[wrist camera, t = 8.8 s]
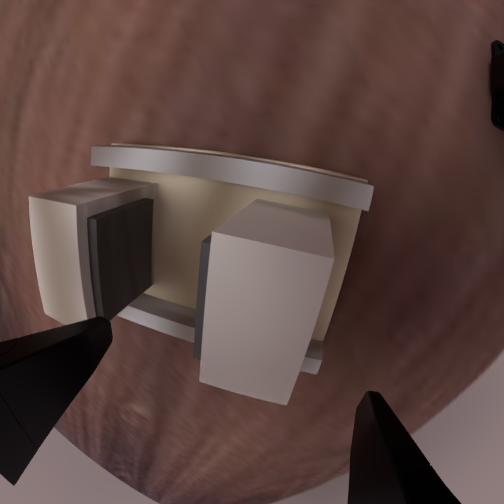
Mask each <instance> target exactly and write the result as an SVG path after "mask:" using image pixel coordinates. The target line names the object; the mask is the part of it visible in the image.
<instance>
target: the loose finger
mask: <svg viewBox="0 0 504 504" xmlns="http://www.w3.org/2000/svg"><path fill="white" fill-rule="evenodd" d="M333 263H334V249H333V240H332V231H331V223H330V215H329V214H328V213H324V212H319V211H315V210H310V209H306V208H301V207H296V206H292V205H287V204H282V203H277V202H272V201H267V200H262V199H256V200H255V201H253V202H252V203H251V204H249V205H248V206H246V207H245V208H244V209H242V210H241V211H239V212H238V213H237V214H235V215H234V216H233V217H231V218H230V219H228V220H227V221H226V222H224V223H223V224H222V225H220V226H219V227H218V228H216V229H215V230H214V231H212V234H211V235H209V236H208V237H207V238H205V239H204V240H203V241H201V251H200V263H199V275H198V287H197V301H196V316H195V334H194V354H193V357H194V358H197V359H200V360H201V364H200V380H199V382H202V383H205V384H209V385H212V386H215V387H218V388H221V389H225V390H228V391H231V392H235V393H238V394H242V395H246V396H249V397H253V398H257V399H261V400H265V401H269V402H273V403H278V404H282V405H286V406H287V403H288V401H289V398H290V396H291V393H292V390H293V388H294V385H295V382H296V380H297V377H298V374H299V371H300V368H301V366H302V363H303V360H304V357H305V354H306V351H307V348H308V345H309V342H310V339H311V336H312V333H313V330H314V327H315V324H316V321H317V318H318V314H319V311H320V308H321V305H322V301H323V298H324V295H325V291H326V288H327V284H328V281H329V277H330V274H331V270H332V267H333Z"/></svg>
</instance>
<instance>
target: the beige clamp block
mask: <svg viewBox="0 0 504 504" xmlns="http://www.w3.org/2000/svg"><path fill="white" fill-rule="evenodd" d="M91 165H93V166H105V167H110V175H109V177H107V178H102V179H97V180H92V181H88V182H83V183H79V184H74V185H70V186H66V187H62V188H57V189H54V190H50V191H46V192H42V193H38V194H35V195H31V196H29V212H30V225H31V236H32V245H33V252H34V260H35V266H36V272H37V278H38V283H39V288H40V293H41V298H42V303H43V307H44V311H45V314H47V315H49V316H50V317H52V318H54V319H56V320H57V321H59V322H61V323H63V324H65V325H68V324H72V323H76V322H79V321H83V320H87V319H90V318H94V317H98V316H102V317H104V318H107V319H109V320H110V321H111V320H112V319H113V318H115V317H116V316H117V315H118V316H120V317H123V318H125V319H128V320H130V321H133V322H136V323H138V324H141V325H144V326H146V327H149V328H152V329H154V330H157V331H160V332H163V333H166V334H169V335H172V336H174V337H177V338H180V339H183V340H187V341H190V342H193V343H194V334H195V316H196V301H197V287H198V275H199V263H200V251H201V241H203V240H204V239H205V238H207V237H208V236H209V235H211V234H212V231H214V230H215V229H216V228H218V227H219V226H220V225H222V224H223V223H224V222H226V221H227V220H228V219H230V218H231V217H233V216H234V215H235V214H237V213H238V212H239V211H241V210H242V209H244V208H245V207H246V206H248V205H249V204H251V203H252V202H253V201H255V200H256V199H262V200H267V201H272V202H277V203H282V204H287V205H292V206H296V207H301V208H306V209H310V210H315V211H319V212H324V213H328V214H329V215H330V223H331V231H332V240H333V249H334V263H333V267H332V270H331V274H330V277H329V281H328V284H327V288H326V291H325V295H324V298H323V301H322V305H321V308H320V311H319V314H318V318H317V321H316V324H315V327H314V330H313V333H312V336H311V339H310V342H309V345H308V348H307V351H306V354H305V357H304V360H303V363H302V366H301V368H300V371H302V372H307V373H312V374H317V373H318V370H319V368H320V365H321V362H322V356H323V340H324V338H325V335H326V332H327V329H328V326H329V323H330V320H331V317H332V314H333V311H334V308H335V305H336V302H337V298H338V295H339V292H340V289H341V285H342V282H343V279H344V275H345V272H346V268H347V265H348V261H349V258H350V254H351V250H352V247H353V243H354V239H355V235H356V231H357V227H358V223H359V219H360V215H361V211H362V210H365V211H369V208H370V204H371V199H372V195H373V190H374V186H372V185H371V184H369V183H368V180H366V179H364V178H360V177H355V176H351V175H347V174H343V173H338V172H334V171H330V170H325V169H320V168H316V167H311V166H306V165H301V164H295V163H290V162H285V161H279V160H273V159H267V158H261V157H255V156H248V155H242V154H235V153H227V152H220V151H212V150H203V149H194V148H184V147H173V146H161V145H146V144H128V143H115V144H112V145H104V146H92V151H91Z"/></svg>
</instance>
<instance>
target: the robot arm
mask: <svg viewBox="0 0 504 504" xmlns="http://www.w3.org/2000/svg"><path fill="white" fill-rule="evenodd" d="M497 46H498V47H499V48H500V49H499V48H498V47H497ZM491 60H492V92H493V101H492V121H493V123H494V125H495V126H497V127H499V128H500V129H502V130H504V44H503V43H502V42H500V41H498V40H495V41H494V42H492V59H491ZM497 117H499V118H500V122H499V121H498V118H497ZM112 339H113V336H112V329H111V322H110V320H109V319H107V318H104V317H102V316H98V317H94V318H90V319H87V320H83V321H79V322H76V323H72V324H68V325H65V326H61V327H57V328H53V329H50V330H46V331H42V332H38V333H35V334H31V335H27V336H23V337H20V338H15V339H11V340H7V341H3V342H0V474H1V475H2V476H3V477H4V478H5V479H7V480H8V481H9V482H10V483H11V484H12V485H13V486H14V485H15V484H16V483H17V481H18V480H19V478H20V476H21V475H22V473H23V472H24V470H25V468H26V467H27V466H28V464H29V463H30V461H31V459H32V458H33V456H34V455H35V454H36V452H37V451H38V449H39V447H40V446H41V444H42V443H43V441H44V440H45V439H46V437H47V436H48V434H49V433H50V431H51V430H52V429H53V427H54V426H55V424H56V423H57V422H58V420H59V419H60V417H61V416H62V415H63V413H64V412H65V410H66V409H67V408H68V406H69V405H70V403H71V402H72V401H73V399H74V398H75V397H76V395H77V394H78V393H79V391H80V390H81V389H82V387H83V386H84V385H85V383H86V382H87V381H88V379H89V378H90V377H91V375H92V374H93V372H94V371H95V369H96V368H97V366H98V364H99V363H100V361H101V359H102V358H103V356H104V354H105V353H106V351H107V349H108V348H109V346H110V345H111V343H112ZM348 504H461V503H460V501H459V500H458V499H457V498H456V497H455V496H454V495H453V493H452V492H451V491H450V490H449V489H448V487H447V486H446V485H445V484H444V482H443V481H442V480H441V479H440V477H439V476H438V474H437V473H436V471H435V470H434V469H433V467H432V466H430V463H429V462H428V460H427V459H426V457H425V456H424V454H423V453H422V452H421V450H420V449H419V447H418V446H417V444H416V443H415V442H414V440H413V439H412V437H411V436H410V434H409V433H408V432H407V430H406V429H405V427H404V426H403V425H402V423H401V422H400V420H399V419H398V418H397V416H396V415H395V413H394V412H393V411H392V409H391V408H390V406H389V405H388V404H387V402H386V401H385V399H384V398H383V397H382V395H381V394H380V393H379V392H374V391H367V392H366V393H365V395H364V397H363V398H362V400H361V402H360V403H359V405H358V407H357V410H356V414H355V423H354V430H353V438H352V444H351V453H350V474H349V492H348Z"/></svg>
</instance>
